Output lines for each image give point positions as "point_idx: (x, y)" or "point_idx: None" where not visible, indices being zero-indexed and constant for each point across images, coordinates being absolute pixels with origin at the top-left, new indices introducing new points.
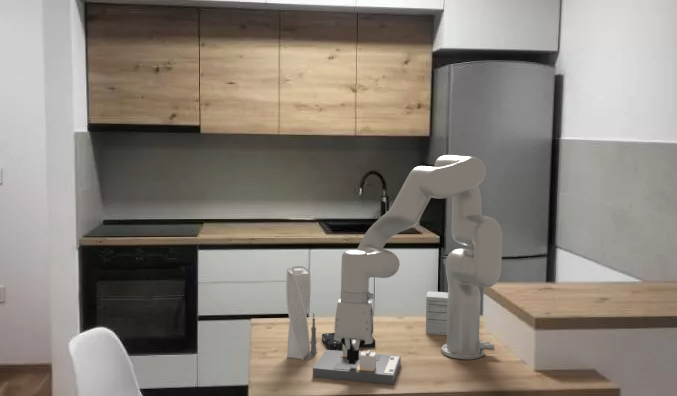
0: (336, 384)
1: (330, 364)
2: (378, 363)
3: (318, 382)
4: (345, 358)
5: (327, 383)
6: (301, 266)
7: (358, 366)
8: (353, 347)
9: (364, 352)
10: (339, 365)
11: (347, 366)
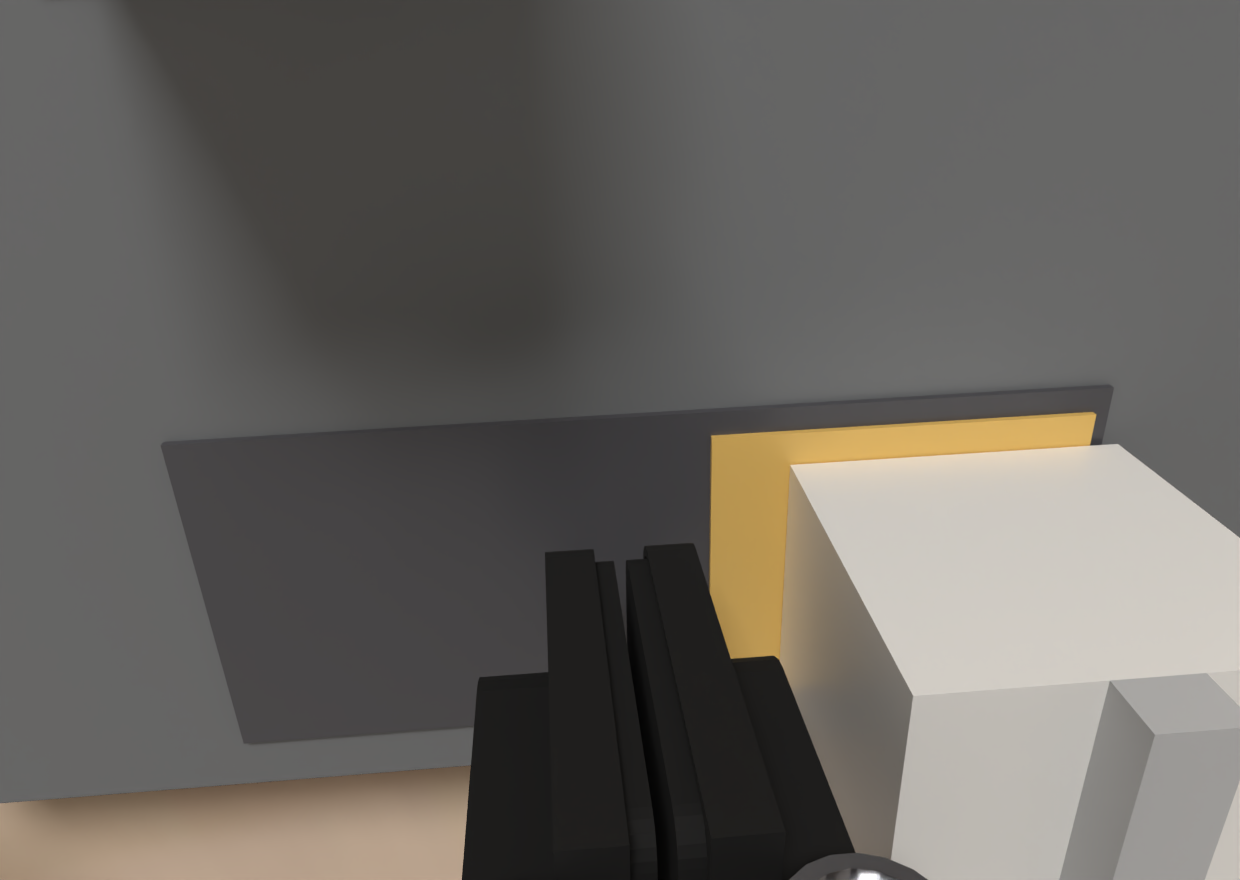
0: (443, 803)
1: (67, 557)
2: (1179, 170)
3: (158, 819)
4: (227, 39)
5: (302, 811)
6: None
7: (728, 533)
8: (645, 875)
9: (1007, 753)
10: (298, 577)
11: (489, 578)
